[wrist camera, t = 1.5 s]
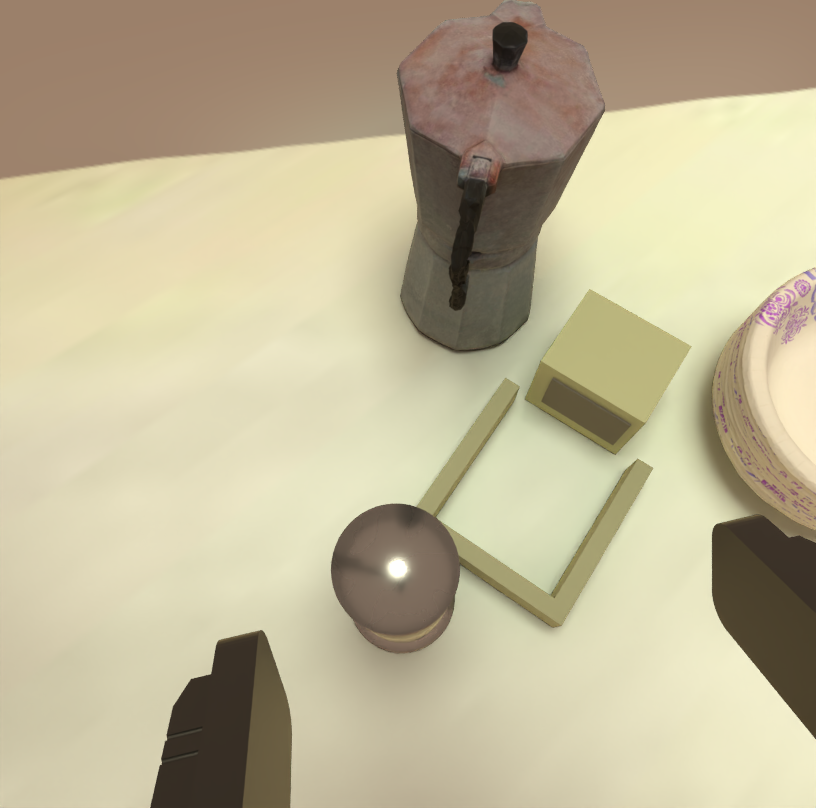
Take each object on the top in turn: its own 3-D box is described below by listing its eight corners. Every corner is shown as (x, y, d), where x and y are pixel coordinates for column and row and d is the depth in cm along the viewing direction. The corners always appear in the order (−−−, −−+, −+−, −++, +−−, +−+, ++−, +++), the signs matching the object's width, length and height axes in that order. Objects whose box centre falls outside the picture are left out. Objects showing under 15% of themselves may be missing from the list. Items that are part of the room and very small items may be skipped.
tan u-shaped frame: (552, 627, 39) (575, 622, 34) (407, 528, 41) (406, 507, 36) (684, 402, 44) (724, 364, 38) (548, 323, 46) (567, 276, 40)
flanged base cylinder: (415, 675, 39) (415, 683, 25) (329, 611, 40) (286, 587, 27) (473, 583, 40) (502, 547, 27) (389, 525, 41) (377, 463, 28)
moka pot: (549, 212, 49) (633, -65, 30) (528, 415, 44) (612, 231, 25) (416, 195, 50) (417, -87, 31) (379, 393, 44) (353, 198, 26)
